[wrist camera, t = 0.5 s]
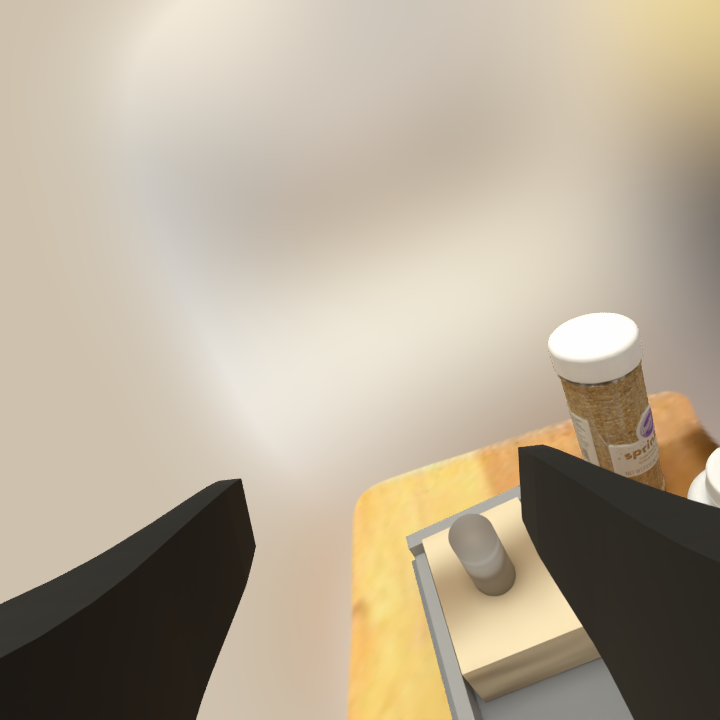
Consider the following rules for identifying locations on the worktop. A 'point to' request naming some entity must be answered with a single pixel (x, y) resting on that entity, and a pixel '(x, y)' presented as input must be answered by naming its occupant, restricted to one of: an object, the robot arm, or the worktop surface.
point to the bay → (528, 704)
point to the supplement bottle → (707, 483)
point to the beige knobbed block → (503, 604)
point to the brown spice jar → (608, 394)
